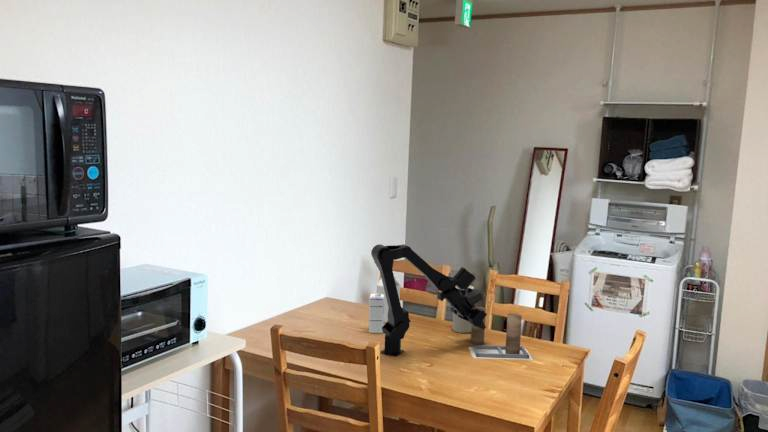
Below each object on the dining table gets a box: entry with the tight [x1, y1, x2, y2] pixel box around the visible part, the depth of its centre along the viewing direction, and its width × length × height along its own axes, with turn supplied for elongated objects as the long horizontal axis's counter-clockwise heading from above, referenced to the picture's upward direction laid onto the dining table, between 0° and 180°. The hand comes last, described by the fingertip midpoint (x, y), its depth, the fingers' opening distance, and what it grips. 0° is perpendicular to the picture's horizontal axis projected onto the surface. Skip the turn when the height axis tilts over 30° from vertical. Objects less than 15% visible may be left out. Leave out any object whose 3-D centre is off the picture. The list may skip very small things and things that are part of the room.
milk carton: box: [375, 276, 401, 323], centre depth 267 cm, size 7×7×19 cm
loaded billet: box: [505, 313, 523, 354], centre depth 226 cm, size 5×5×14 cm
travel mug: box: [452, 285, 475, 334], centre depth 255 cm, size 8×8×18 cm
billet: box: [470, 306, 487, 345], centre depth 238 cm, size 5×5×14 cm
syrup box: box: [368, 293, 385, 334], centre depth 251 cm, size 6×6×14 cm
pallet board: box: [468, 344, 534, 361], centre depth 227 cm, size 21×12×2 cm, turn 90°
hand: (481, 326), depth 238 cm, fingers closed on billet, 5 cm apart
